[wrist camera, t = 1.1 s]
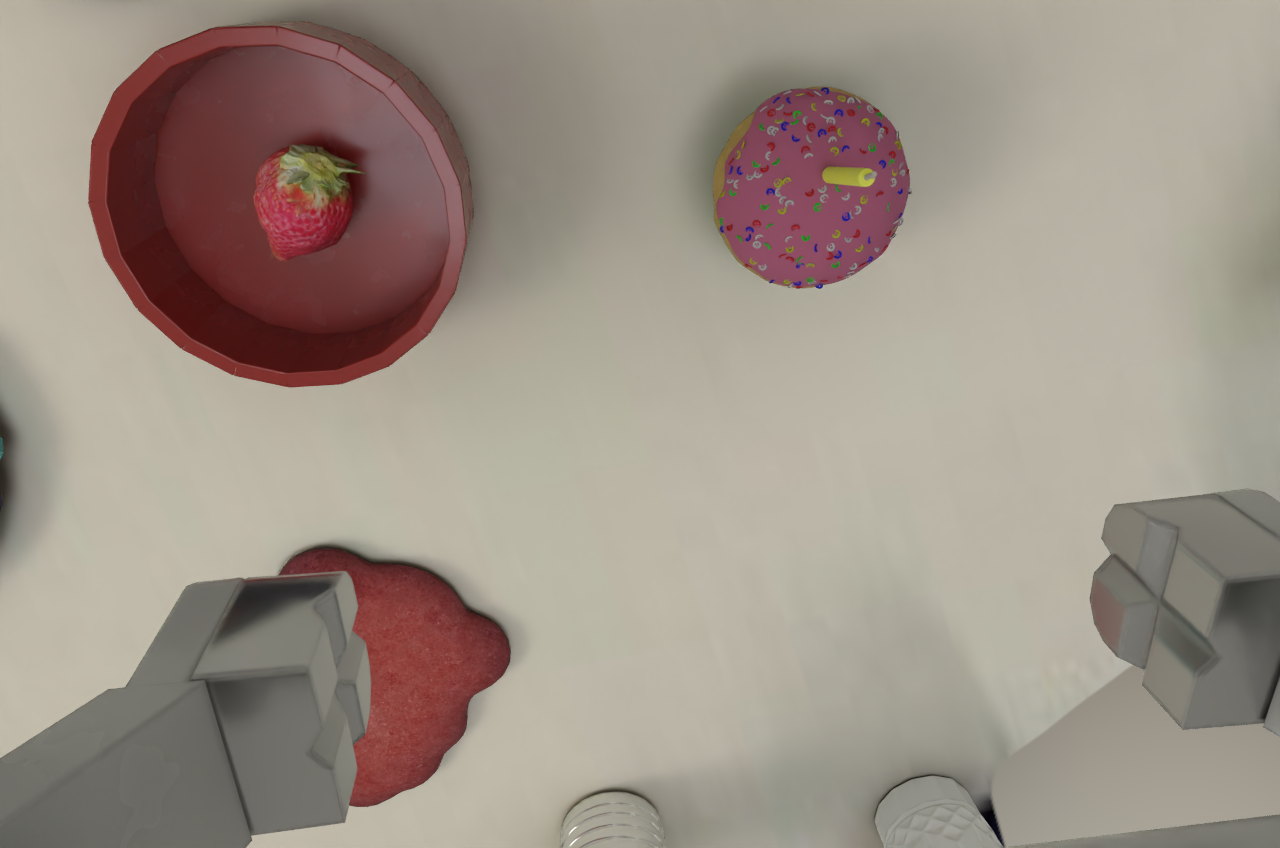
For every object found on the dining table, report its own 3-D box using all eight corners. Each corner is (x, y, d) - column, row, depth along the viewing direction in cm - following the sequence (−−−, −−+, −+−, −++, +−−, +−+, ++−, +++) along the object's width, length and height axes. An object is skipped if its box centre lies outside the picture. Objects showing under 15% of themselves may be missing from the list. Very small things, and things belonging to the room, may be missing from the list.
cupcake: (696, 81, 41) (755, 113, 30) (879, 72, 42) (1000, 101, 31) (698, 266, 45) (751, 354, 34) (866, 255, 46) (969, 338, 35)
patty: (307, 518, 49) (299, 538, 47) (538, 612, 53) (539, 634, 51) (191, 744, 54) (179, 769, 52) (409, 812, 58) (405, 839, 57)
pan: (102, 27, 38) (39, 32, 33) (453, 16, 39) (443, 20, 34) (185, 352, 44) (143, 397, 39) (486, 334, 45) (481, 375, 40)
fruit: (234, 222, 41) (197, 250, 37) (300, 110, 40) (270, 126, 35) (319, 275, 43) (294, 308, 38) (386, 170, 41) (368, 192, 37)
